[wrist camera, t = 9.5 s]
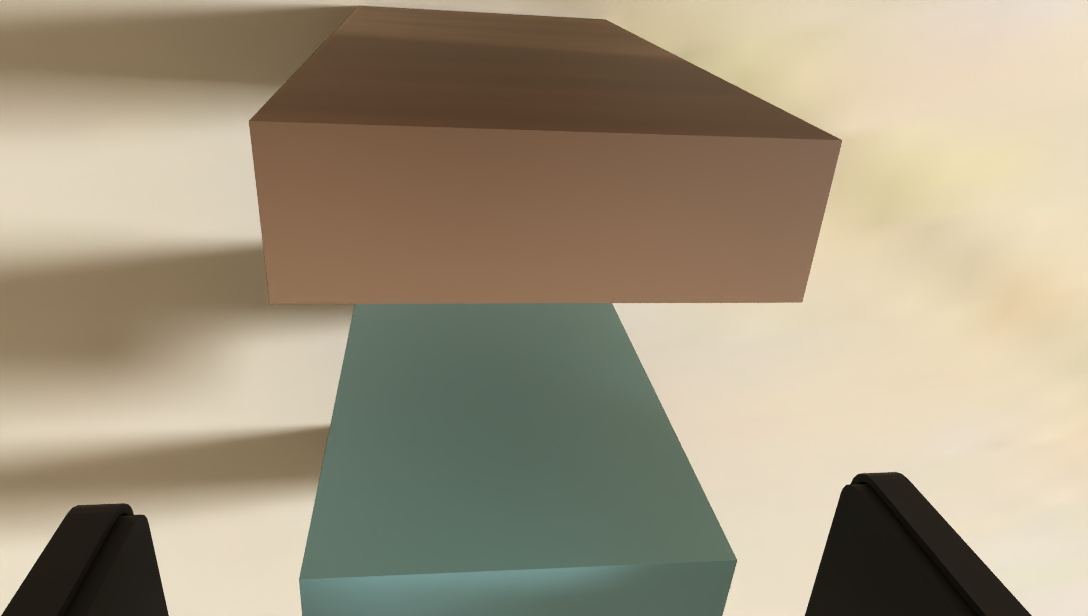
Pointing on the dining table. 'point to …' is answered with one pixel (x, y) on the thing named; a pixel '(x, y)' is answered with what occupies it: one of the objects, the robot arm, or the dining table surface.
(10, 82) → the dining table surface
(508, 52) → the domino
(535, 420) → the domino
